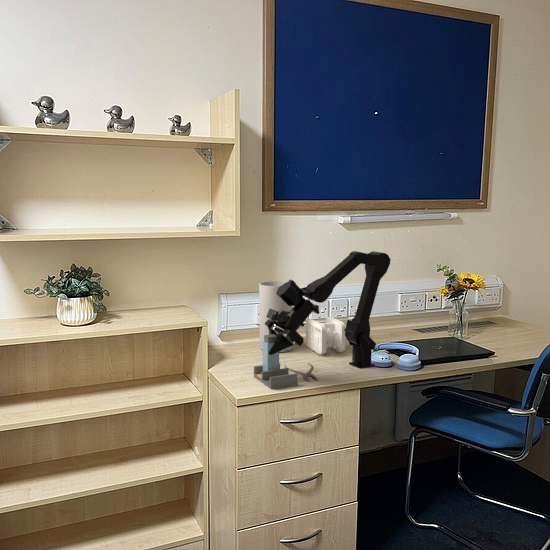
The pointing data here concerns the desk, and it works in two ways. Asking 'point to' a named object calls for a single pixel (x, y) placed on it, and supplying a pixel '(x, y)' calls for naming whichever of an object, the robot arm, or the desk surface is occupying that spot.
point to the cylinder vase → (270, 306)
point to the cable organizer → (325, 335)
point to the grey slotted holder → (275, 377)
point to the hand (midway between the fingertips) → (266, 352)
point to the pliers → (305, 375)
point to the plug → (269, 360)
